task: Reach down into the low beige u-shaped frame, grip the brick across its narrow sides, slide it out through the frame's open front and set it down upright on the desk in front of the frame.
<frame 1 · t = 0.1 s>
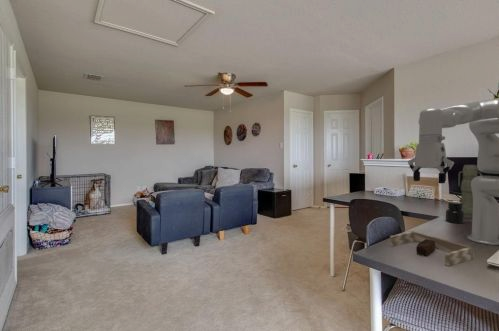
hand: (428, 182, 105), 31 cm above the table, tool pointing down, fingers open, 9 cm apart
beige u-shaped frame: (428, 251, 112), on the table
brick: (425, 253, 111), on the table
ink bottle: (454, 222, 160), on the table
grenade: (468, 217, 172), on the table
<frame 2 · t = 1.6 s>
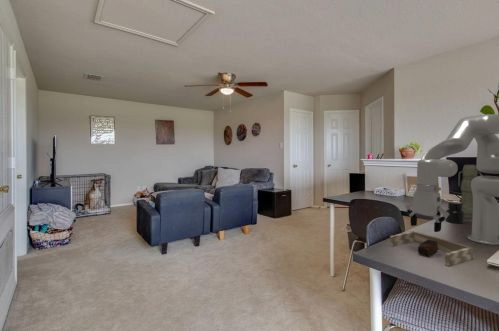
hand: (424, 228, 110), 11 cm above the table, tool pointing down, fingers open, 9 cm apart
nothing on the table moved.
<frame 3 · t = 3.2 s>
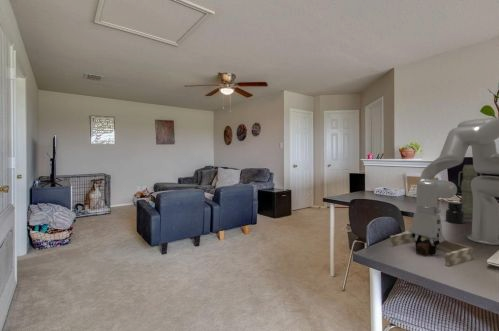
hand: (425, 251, 111), 0 cm above the table, tool pointing down, fingers open, 4 cm apart
nothing on the table moved.
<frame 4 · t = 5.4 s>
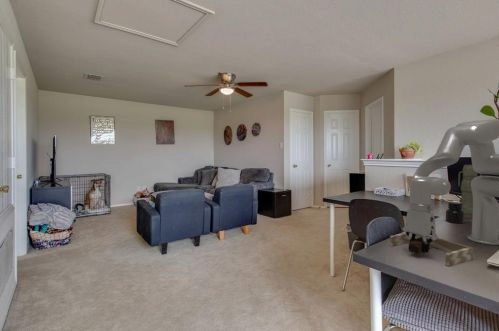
hand: (419, 249, 109), 2 cm above the table, tool pointing down, fingers closed on brick, 4 cm apart
brick: (419, 251, 109), point 1 cm above the table, touching gripper
everything else where it was.
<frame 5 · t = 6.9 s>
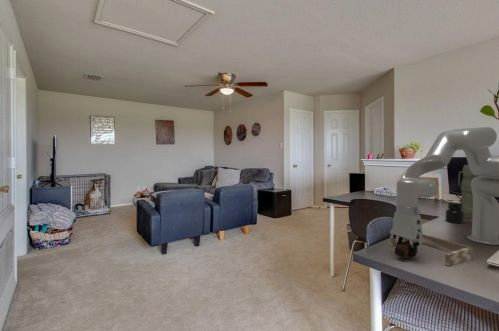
hand: (405, 253, 106), 2 cm above the table, tool pointing down, fingers closed on brick, 4 cm apart
brick: (406, 255, 106), point 1 cm above the table, touching gripper
everything else where it was.
when the fingers open (1 cm above the table, at t = 7.6 s): brick stays where it is, on the table.
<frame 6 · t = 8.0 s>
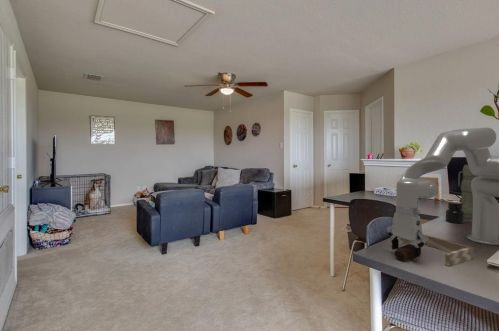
hand: (405, 252, 106), 2 cm above the table, tool pointing down, fingers open, 8 cm apart
brick: (406, 258, 106), on the table
everything else where it was.
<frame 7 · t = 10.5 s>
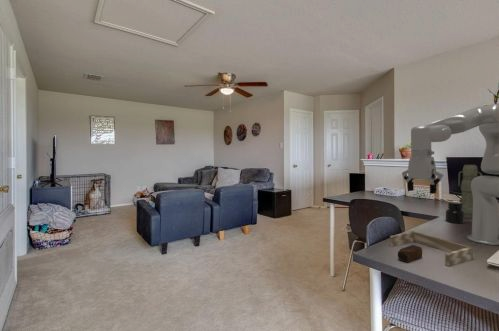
hand: (421, 191, 116), 25 cm above the table, tool pointing down, fingers open, 9 cm apart
brick: (410, 259, 105), on the table
everything else where it was.
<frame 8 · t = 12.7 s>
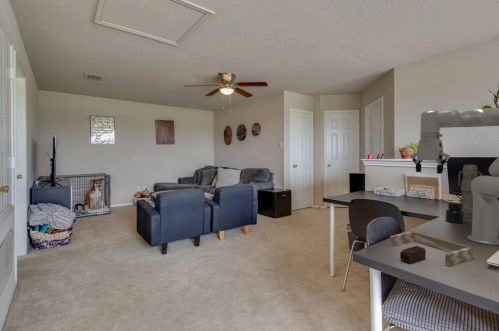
hand: (428, 172, 124), 33 cm above the table, tool pointing down, fingers open, 9 cm apart
brick: (412, 260, 104), on the table
everything else where it was.
at the end: brick inside the target area (3.3 cm from its centre), on the table; brick tilted 0°; the gripper is holding nothing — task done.
